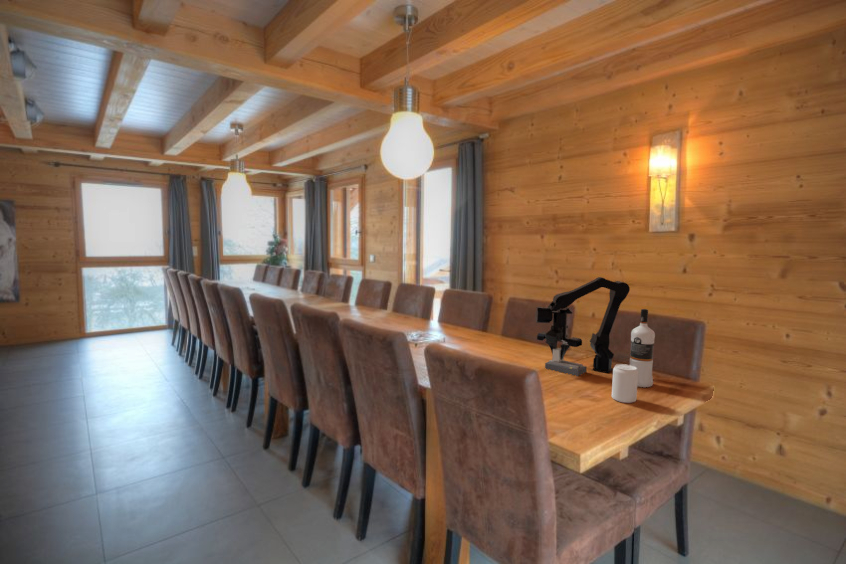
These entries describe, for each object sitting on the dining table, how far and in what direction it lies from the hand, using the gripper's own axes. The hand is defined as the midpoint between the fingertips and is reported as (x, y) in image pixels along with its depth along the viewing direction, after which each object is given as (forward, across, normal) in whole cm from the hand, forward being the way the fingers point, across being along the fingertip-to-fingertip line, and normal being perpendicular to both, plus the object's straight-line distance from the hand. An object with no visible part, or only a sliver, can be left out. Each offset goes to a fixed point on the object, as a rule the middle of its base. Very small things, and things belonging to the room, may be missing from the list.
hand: (557, 358), depth 196 cm
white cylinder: (+5, +35, -18) cm, 39 cm away
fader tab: (+2, 0, 0) cm, 2 cm away
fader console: (+4, +4, 0) cm, 6 cm away
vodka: (+5, +33, +4) cm, 33 cm away
